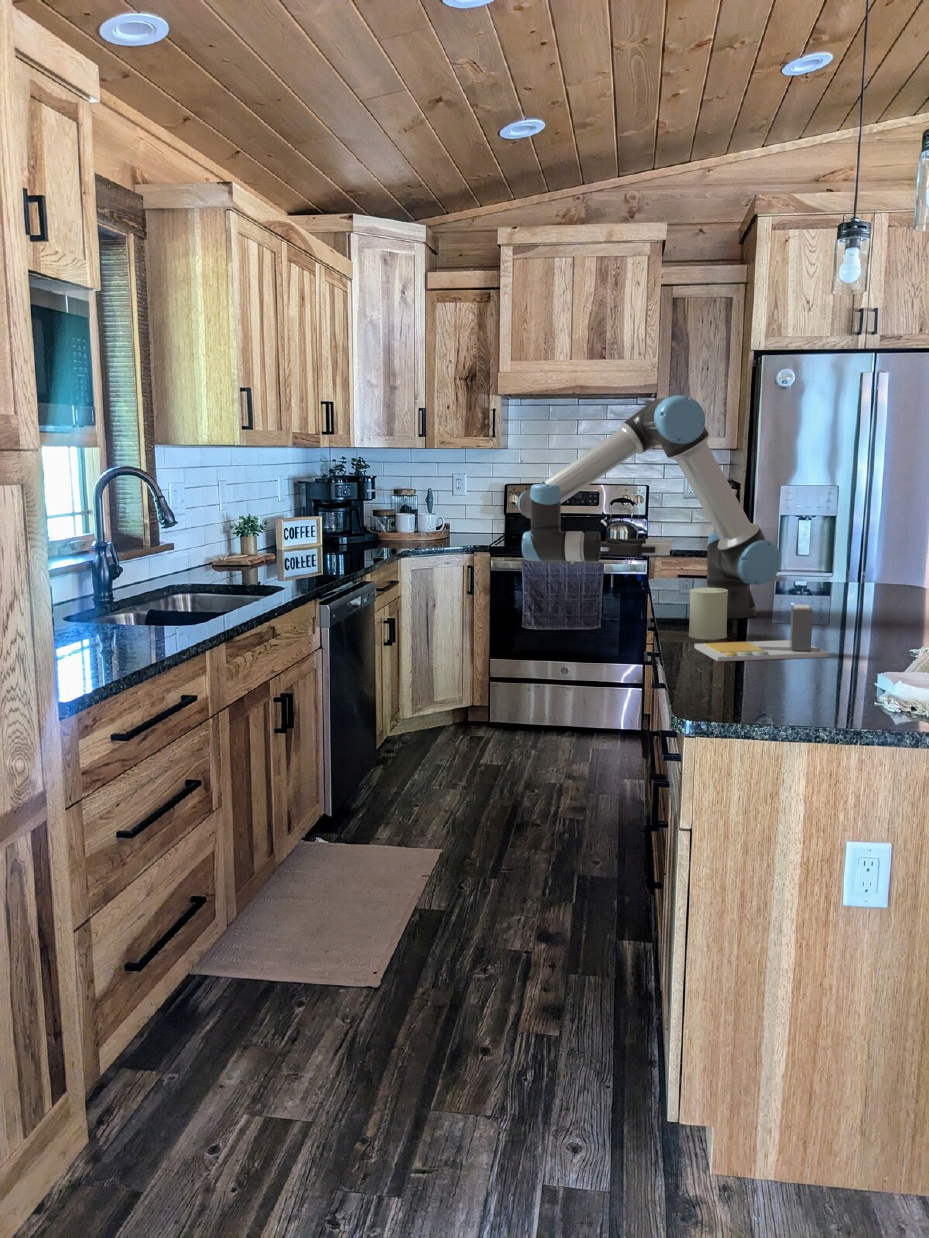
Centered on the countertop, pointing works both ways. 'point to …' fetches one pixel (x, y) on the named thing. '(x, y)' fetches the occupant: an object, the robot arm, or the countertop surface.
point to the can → (708, 613)
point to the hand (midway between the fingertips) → (671, 547)
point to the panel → (756, 651)
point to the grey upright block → (801, 627)
